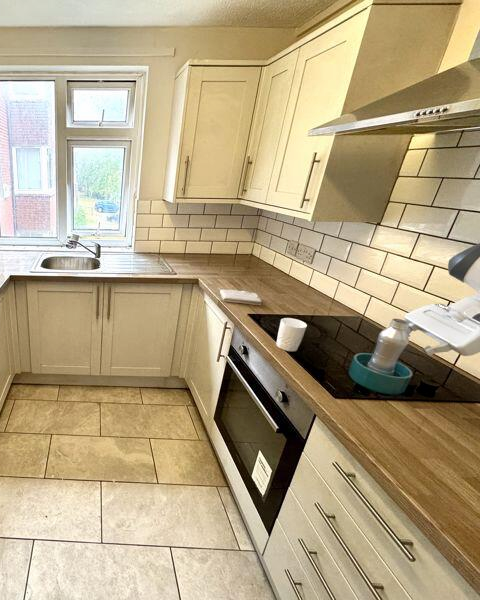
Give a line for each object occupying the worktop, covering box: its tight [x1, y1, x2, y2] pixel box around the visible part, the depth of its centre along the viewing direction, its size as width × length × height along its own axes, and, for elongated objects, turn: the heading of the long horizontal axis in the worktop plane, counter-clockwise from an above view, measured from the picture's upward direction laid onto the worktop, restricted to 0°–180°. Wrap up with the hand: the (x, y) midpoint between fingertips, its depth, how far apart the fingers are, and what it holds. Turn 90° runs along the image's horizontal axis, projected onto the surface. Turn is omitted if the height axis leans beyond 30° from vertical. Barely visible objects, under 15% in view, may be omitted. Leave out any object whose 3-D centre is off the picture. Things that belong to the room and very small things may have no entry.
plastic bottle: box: [365, 318, 410, 376], centre depth 93 cm, size 6×7×20 cm
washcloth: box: [219, 289, 263, 306], centre depth 158 cm, size 12×18×3 cm, turn 75°
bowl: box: [347, 352, 414, 395], centre depth 96 cm, size 13×13×6 cm
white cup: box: [275, 317, 308, 352], centre depth 114 cm, size 8×8×10 cm
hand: (412, 343), depth 91 cm, fingers open, 8 cm apart
